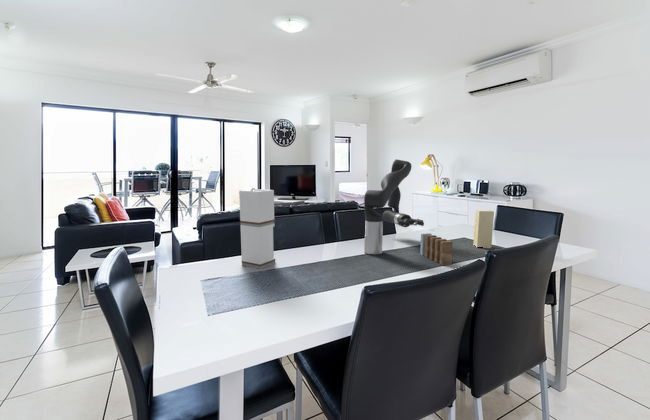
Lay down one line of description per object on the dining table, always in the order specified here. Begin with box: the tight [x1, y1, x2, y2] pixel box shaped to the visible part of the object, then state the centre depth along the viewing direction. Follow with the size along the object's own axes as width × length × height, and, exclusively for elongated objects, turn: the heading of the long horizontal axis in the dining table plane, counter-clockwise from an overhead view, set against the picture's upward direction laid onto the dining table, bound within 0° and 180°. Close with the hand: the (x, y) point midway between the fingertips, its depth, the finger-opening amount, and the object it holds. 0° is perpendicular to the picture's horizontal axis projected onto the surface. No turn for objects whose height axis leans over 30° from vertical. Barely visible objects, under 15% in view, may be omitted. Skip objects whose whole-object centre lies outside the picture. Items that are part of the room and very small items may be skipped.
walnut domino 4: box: [439, 240, 454, 266], centre depth 160 cm, size 2×5×11 cm, turn 103°
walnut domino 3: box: [433, 238, 448, 264], centre depth 164 cm, size 2×5×11 cm, turn 103°
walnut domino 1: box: [424, 234, 438, 259], centre depth 173 cm, size 2×5×11 cm, turn 104°
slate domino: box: [419, 232, 433, 256], centre depth 177 cm, size 2×5×11 cm, turn 104°
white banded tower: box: [238, 188, 276, 270], centre depth 159 cm, size 11×11×35 cm
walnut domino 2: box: [429, 236, 443, 261], centre depth 168 cm, size 2×5×11 cm, turn 104°
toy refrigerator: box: [472, 209, 495, 249], centre depth 193 cm, size 8×7×21 cm
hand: (416, 224), depth 186 cm, fingers open, 8 cm apart
